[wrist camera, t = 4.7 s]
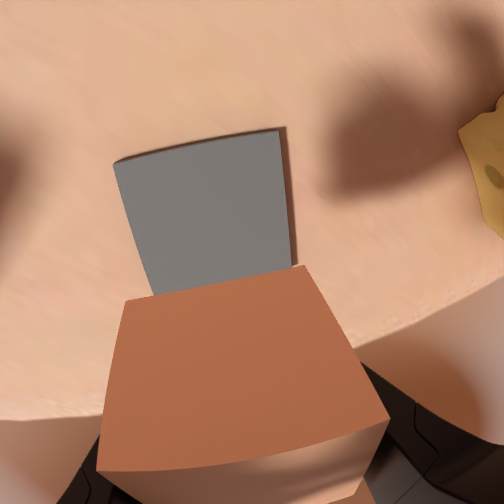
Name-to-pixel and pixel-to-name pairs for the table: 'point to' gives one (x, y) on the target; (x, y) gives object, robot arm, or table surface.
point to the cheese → (487, 162)
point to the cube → (238, 397)
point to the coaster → (208, 211)
